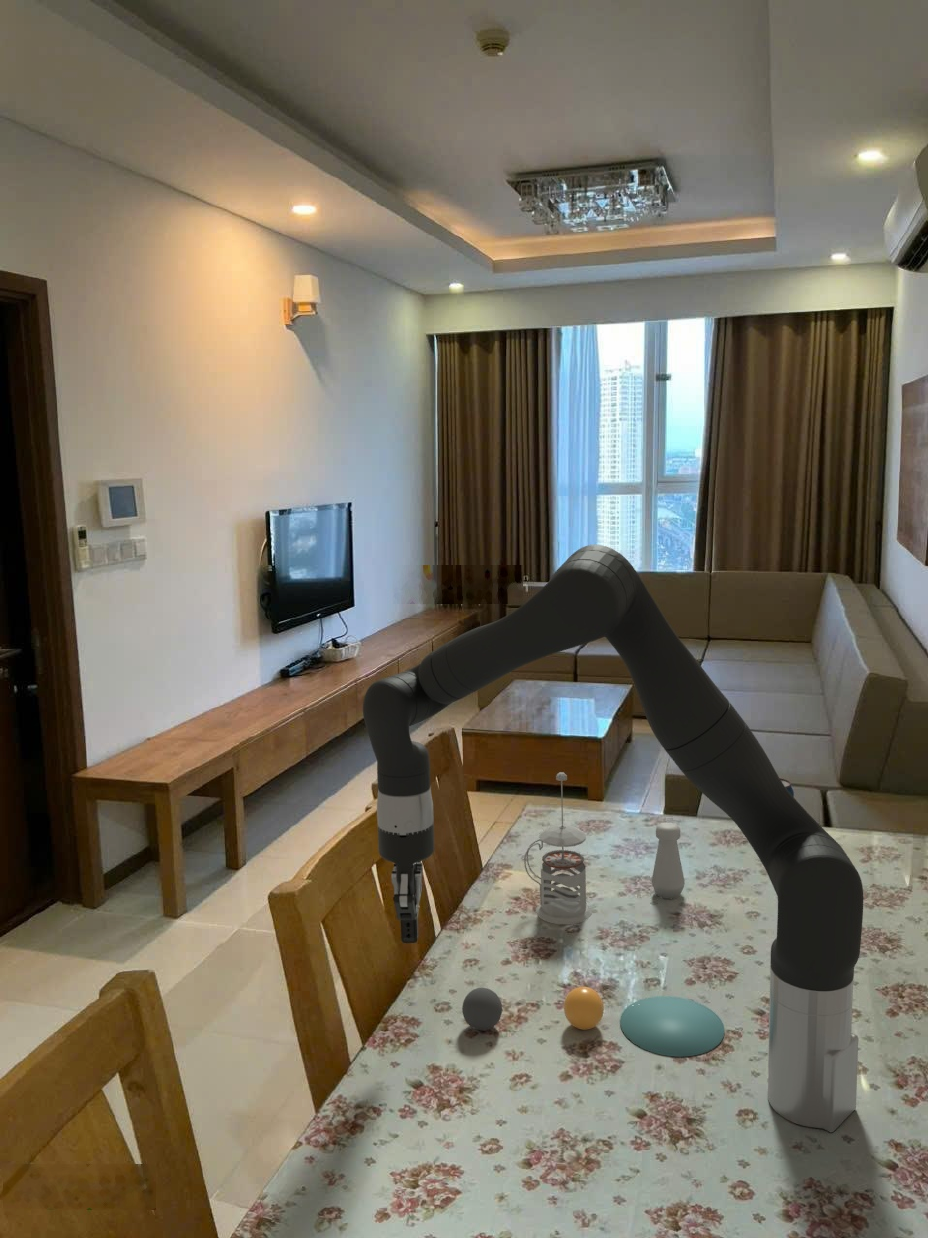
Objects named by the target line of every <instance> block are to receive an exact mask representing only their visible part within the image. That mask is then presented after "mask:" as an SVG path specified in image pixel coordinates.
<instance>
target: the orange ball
mask: <svg viewBox="0 0 928 1238" xmlns="http://www.w3.org/2000/svg"><path fill="white" fill-rule="evenodd" d="M563 1011H564V1016H565V1018H566V1020H567V1021H568V1022H569V1024H571V1026H573V1027H575V1028H576V1029H579V1030H583V1031H585V1030H591V1029H594V1028H595V1027H596V1026H598V1025H599V1023H600V1022H601V1021H602V1019H603V1017H604V1013H605V1012H604V1011H605V1005H604V1001H603V1000H602V997H601V995H600V994H599V993H598V992H597V991H596V990H594V989H593V988H591V987H588V986H578V987H575V988H573V989H572V990H570V991H569V992H568V994H567V995H566V997H565V999H564V1001H563Z"/></svg>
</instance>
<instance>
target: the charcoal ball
mask: <svg viewBox="0 0 928 1238" xmlns="http://www.w3.org/2000/svg"><path fill="white" fill-rule="evenodd" d="M461 1008H462V1016H463V1018H464V1021H465V1022H466V1023H467V1025H468V1026H469V1027H471V1028H473V1029H474V1030H477V1031H488V1030H490V1029H492V1028H495V1026H496V1025H497V1024H498V1023H499V1022H500V1019H501V1017H502V1013H503V1005H502V1001H501V999H500V997H499V996H498V995H497V993H496V992H495V991H493V990H492V989H490V988H488V987H477V988H474V989H472V990H471V991H469V992H468V993H467V995H466V996H465V997H464V1000H463V1002H462V1007H461Z"/></svg>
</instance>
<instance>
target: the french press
mask: <svg viewBox="0 0 928 1238" xmlns="http://www.w3.org/2000/svg"><path fill="white" fill-rule="evenodd" d="M555 780H556V781H557V782H558V781H559V782H560V791H561V792H560V793H561V795H560V798H561V799H560V801H561V802H560V803H561V824H558V825H552V826H549V827H547V828H545V829H543V830H542V831H541V832H540V833H539V837H538V838H539V839H537V840H534V841H532V843H531V844H530V845H529V847H528V848H527V849H526V851H525V854H524V857H523V860H524V861H523V862H524V869H525V871H526V874H527V875H528V877H529V878H530V879H531V880H532V881H534V882H536V883H537V884H538V885H539V898H540V899H539V901H540V902H539V904H538V905H537V906H536V908H535V914H536V915H537V916H538V917H539V918H540V919H541V920H544V921H545V922H547V923H551V924H556V925H573V924H579V923H582V922H584V921H586V920H588V919H589V918H590V917H591V916H592V915H593V909H592V907H590V905H589V904H588V903H587V880H586V879H587V877H586V876H587V874H586V873H587V871H586V868H587V867H586V864H585V863H584V860H585V859H584V858H585V857H584V855H582V854H581V853H580V852H577V851H575V850H569V849H567V850H566V849H565V850H564V848H567V847H568V848H569V847H576V846H580V845H581V844H583V843H584V842H585V841H586V839H587V833H585V831H583V830H581V829H579V828H578V827H575V826H573V825H569V824H564V809H563V808H564V805H563V803H564V801H563V798H564V797H563V794H564V793H563V781H567V780H568V775H567V774H566V773H565V772H564V771H563V772H561V771H560V772H558V773H557V774H556V775H555ZM539 842H540V843H541V844H540V843H539ZM544 844H546V845H549V846H553V847H559V848H562V849H554V850H551V851H547V852H546V853H544V854H543V855H542V860H541V861H542V864H541V865H542V866H541V868H540V876H539V875H537V874H536V873H535V872H534V871H533V870H532V868H531V866H530V862H529V852H530V849H532V848H533V847H534V846H536V845H538V849H539V851H542V849H543V847H544ZM526 863H527V864H526ZM528 869H529V871H530V872H531V874H533V876H534V877H536V878H538V879H539V880H540V882H539V881H538V880H536V879H534V878H533V877H532V876H531V874H530V872H529V871H528ZM573 869H575V870H576V871H578V872H579V873H577V872H575V870H573ZM559 871H565V872H569V873H571V874H569V873H564V872H561V873H557V874H555V872H559ZM552 882H553V883H552ZM559 885H562V886H559ZM578 886H579V887H578ZM573 889H574V890H573Z"/></svg>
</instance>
